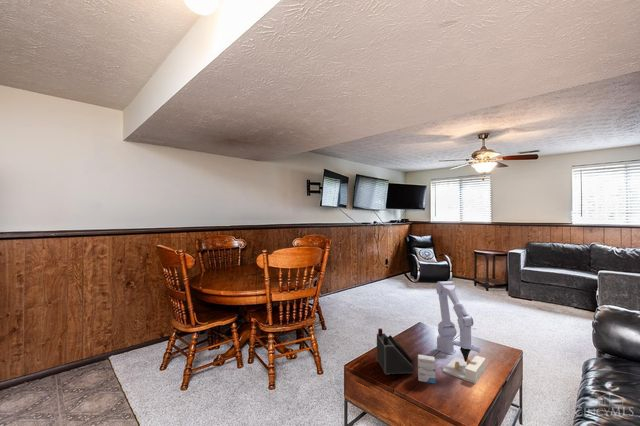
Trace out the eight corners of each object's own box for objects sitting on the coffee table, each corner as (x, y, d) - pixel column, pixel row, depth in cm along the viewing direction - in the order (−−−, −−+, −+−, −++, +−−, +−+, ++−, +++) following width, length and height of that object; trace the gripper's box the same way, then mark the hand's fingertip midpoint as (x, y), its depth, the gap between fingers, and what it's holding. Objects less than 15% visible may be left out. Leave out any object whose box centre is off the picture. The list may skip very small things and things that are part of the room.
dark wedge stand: (414, 375, 151) (414, 338, 152) (385, 376, 150) (384, 339, 151) (403, 360, 167) (403, 326, 168) (376, 361, 166) (376, 327, 167)
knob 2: (466, 365, 157) (466, 359, 158) (468, 363, 160) (468, 356, 160) (472, 367, 155) (472, 360, 155) (474, 365, 158) (474, 358, 158)
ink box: (435, 378, 148) (434, 356, 148) (435, 384, 143) (435, 360, 143) (418, 375, 151) (417, 353, 151) (418, 380, 146) (417, 358, 146)
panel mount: (442, 371, 154) (442, 360, 155) (455, 358, 169) (455, 348, 169) (475, 384, 143) (475, 372, 143) (486, 368, 157) (486, 358, 157)
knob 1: (454, 370, 153) (454, 363, 153) (457, 367, 156) (457, 360, 156) (460, 372, 151) (460, 365, 151) (462, 369, 154) (462, 362, 154)
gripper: (449, 335, 162) (450, 359, 162) (477, 343, 152) (477, 368, 151) (454, 331, 167) (454, 354, 167) (481, 339, 157) (481, 363, 157)
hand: (465, 361), depth 159 cm, fingers closed
